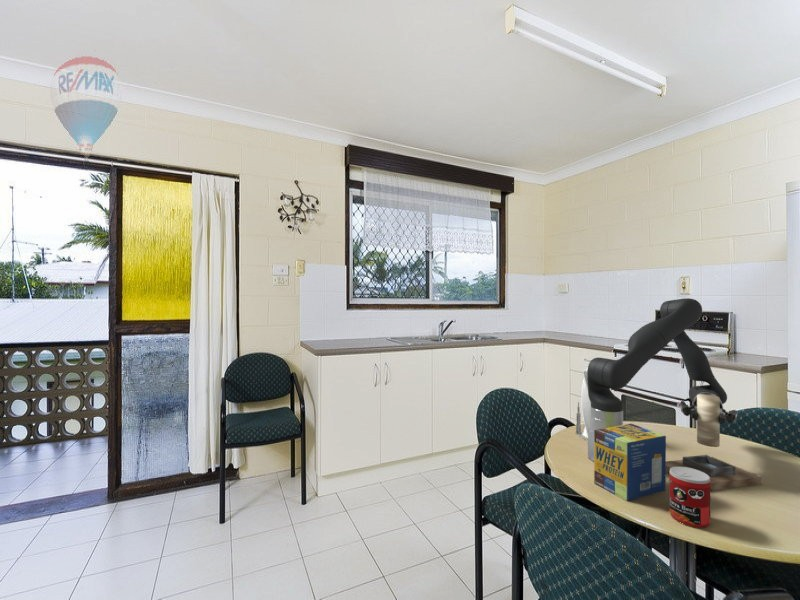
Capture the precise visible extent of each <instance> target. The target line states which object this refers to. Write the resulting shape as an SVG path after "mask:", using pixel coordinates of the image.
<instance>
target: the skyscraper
mask: <svg viewBox="0 0 800 600" xmlns="http://www.w3.org/2000/svg"><path fill="white" fill-rule="evenodd" d="M587 370H588V367H587V368H586V369H583V370H582V375H583V381H582V385H581V391H580V394H581V395H580V402H579V401H578V402H577V413H576V426H575V429H576V431H575V435H577V436H578V435H579V436H578V437H580V438H581V437H582V439H583V440H584V439H585V440H584V441H588V430H589V429H591V402H590V399H589V396H588V381H587ZM580 405H581V410H580ZM580 411H581V412H582V413H581V412H580ZM581 415H582V418H583V425H584V426H583V429H581V428H582V424H581V423H582V421H581ZM585 437H586V438H585ZM586 439H587V440H586Z"/></svg>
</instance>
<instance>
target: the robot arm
mask: <svg viewBox="0 0 800 600" xmlns="http://www.w3.org/2000/svg"><path fill="white" fill-rule="evenodd" d="M659 313H660V317H661V318H658V319H656V320H653V321H652V322H649V323H647V324H645V325H643V326H641V327H639V329H638V330H636V331H635V332H634V333H633V334H631V335H630V336H629V339H628V341H627V351H628V352H627V353H626V354H625V355H623V356H622V357H620V358H619V359H610V358H605V357H594V358H592V359H591V360H590V361H589V363H588V366H587V368H588V370H587V381H588V396H589V399H590V402H591V429H589V430H588V440H587V458H588V459H589V460H591V461H592V462H594V430H598V429H604V428H609V427H615V426H621V425H624V402H623V401H622V399H620V398H619V397H617V396H616V395H615V394H614V393H613V391H611V390H621V389H623V388H624V387H626V386H627V385H628V384H629V383H630V381H632V379H633V378H634V377H635V376H636V374H638V372H640V370H641V369H642V368H643V367H644V366H645V365H646V364H647V363H648V362H649V361H650V360H651V359H652V358H654V357H655V356H656V355H657V354H658V353H659V352H661V350H663V349H665V347H666V346H667V345H669V343H670V342H672V341H673V342H674V344H675V345H676V348H677V349H678V351H679V353H680V355H681V359H682V360H683V364H684V366H685V369H686V372H687V375H688V378H689V379H690V380H692V381H694V382H702V383H703V382H704V383H707V384H704V385H702V384H701V385H694V386H692V387H690V388H689V390H688V396H689V399H690V400H691V402H692V403H693V404H692V405H689V404H687V403H684V402H681V403H680V411H681V413H682V414H683V415H684V416H685V417H689V416H690V417H691V419H693V420H694V421H697V395H698V394H706V395H713V396H717V397H719V398H720V415H719V423H720V425H723V424H726V423H727V422H728V423H731V424H734V423H735V422H736V421H737V420H738V410H736V409H733V410H731V409H730V410H728V411H726V409H725V408H724V404H726V402H727V400H728V394H727V393H726V391H725V389H724V388H723V387H722V385H721V384H720V383H719V382H718V380H717V379H716V377H715V374H714V373H713V370H712V367H711V365H710V361H709V360H708V357H707V355H706V354H705V352H704V350H703V349H702V348H701V347H700V346H699V345H698V344H697V343H695V342H694V340H692V338H691V337H690V336H689V335H688V334H687V333H686V329H688V328H690V327H692V326H693V325H695V324H697V322H698V321H700V319H701V317H702V315H703V314H702V313H703V307H702V304H701V303H700V302H699V301H698V300H696V299H695V298H694V299H693V298H690V297H689V298H686V297H684V298H680V299H672V300H667V301H666V300H665V301H664V302H663V303H662V304H661V305H660V309H659ZM726 421H727V422H726Z"/></svg>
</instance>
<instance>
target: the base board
mask: <svg viewBox="0 0 800 600" xmlns="http://www.w3.org/2000/svg"><path fill="white" fill-rule="evenodd" d="M672 467H687V468H692V469H696V470H699V471H701V472H704V473H705V474H707V475H708V476H709V477H710V484H711V491H717V490H724V489H732V488H733V489H734V488H742V487H746V486H748V487H750V486H757V485H762V482H763V481H762V480H763V478H762V477H763V476H760V475H758V474H755V473H753V472H750V471H747V469H746V470H745V469H743V468H740V467H738V466H736V465H733V464H731V463H729V462H726V461H723V460H722V459H719V458H716V457H714V456H710V455H708V454H700V455H692V456H691V455H690V456H683V457H682V459H678V460H668V461H666V474H669V471H670V468H672Z"/></svg>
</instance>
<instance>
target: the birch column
mask: <svg viewBox="0 0 800 600" xmlns="http://www.w3.org/2000/svg"><path fill="white" fill-rule="evenodd" d="M719 415H720V398H719V397H717V396H713V395H706V394H698V395H697V420H696V442H697V443H698V444H699V445H702V446H705V447H711V448H712V447H713V448H718V447H720V445H721V443H720V442H721V441H720V440H721V439H720V434H721V433H720V429H721V427H720V425H721V424H720V423H719Z"/></svg>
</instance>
